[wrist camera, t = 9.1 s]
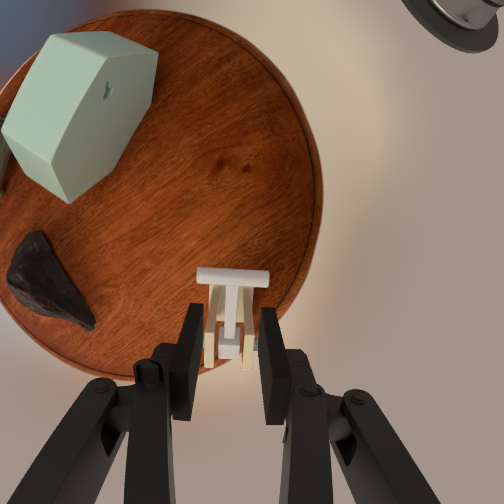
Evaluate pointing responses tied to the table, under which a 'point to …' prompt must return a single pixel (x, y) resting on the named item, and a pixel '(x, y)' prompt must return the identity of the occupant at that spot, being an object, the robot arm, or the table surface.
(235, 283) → the faucet handle
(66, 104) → the planter
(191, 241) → the table surface
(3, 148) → the tabletop clock
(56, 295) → the rock
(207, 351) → the faucet bracket
